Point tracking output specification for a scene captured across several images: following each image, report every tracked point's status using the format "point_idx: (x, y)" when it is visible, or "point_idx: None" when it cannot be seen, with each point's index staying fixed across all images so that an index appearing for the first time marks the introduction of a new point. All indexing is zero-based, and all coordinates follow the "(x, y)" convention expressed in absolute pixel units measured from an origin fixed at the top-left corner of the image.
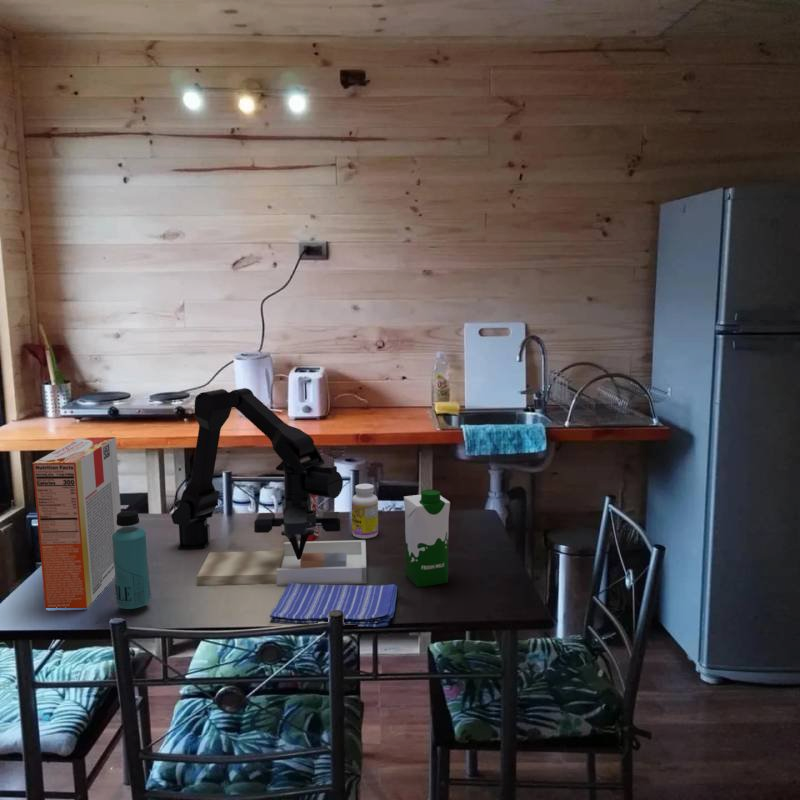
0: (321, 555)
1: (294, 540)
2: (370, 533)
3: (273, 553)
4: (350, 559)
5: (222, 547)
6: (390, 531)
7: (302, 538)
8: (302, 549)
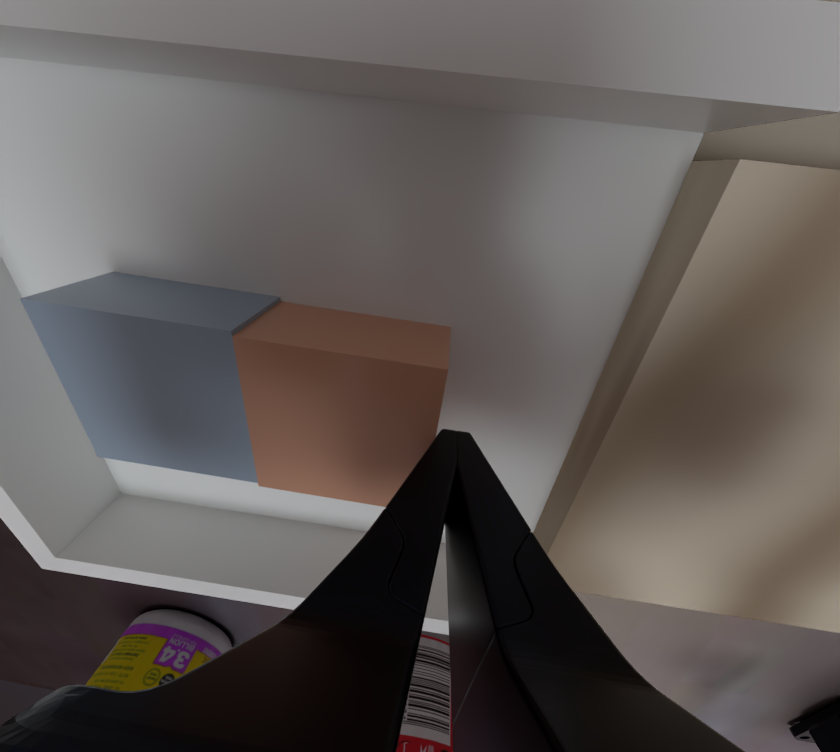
0: (271, 445)
1: (522, 618)
2: (138, 629)
3: (606, 569)
4: None
5: (771, 677)
6: (107, 629)
7: (380, 632)
8: (413, 486)
